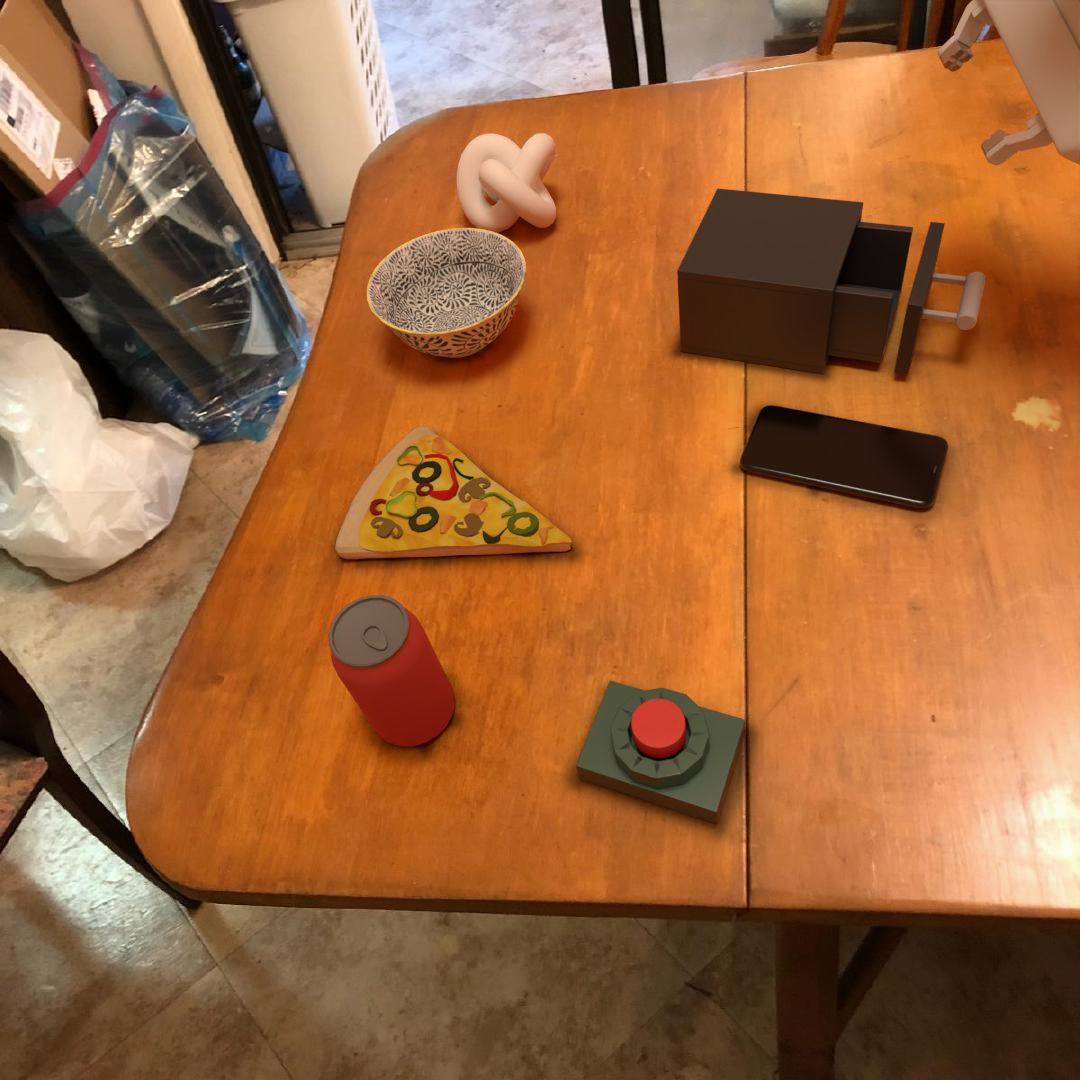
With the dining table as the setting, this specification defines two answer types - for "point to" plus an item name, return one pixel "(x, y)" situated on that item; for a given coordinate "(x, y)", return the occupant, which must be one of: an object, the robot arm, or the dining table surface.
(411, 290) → the bowl
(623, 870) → the dining table surface
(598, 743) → the control block
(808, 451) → the smartphone
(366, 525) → the pizza slice
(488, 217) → the white knot sculpture
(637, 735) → the button
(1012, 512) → the dining table surface
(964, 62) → the robot arm
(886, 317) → the pull-out drawer
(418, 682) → the beer can
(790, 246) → the drawer cabinet
